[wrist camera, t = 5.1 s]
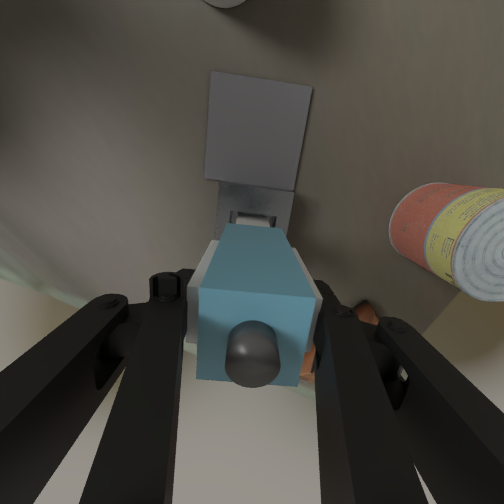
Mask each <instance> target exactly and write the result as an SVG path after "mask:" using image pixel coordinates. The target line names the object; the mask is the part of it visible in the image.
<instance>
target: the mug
mask: <svg viewBox="0 0 504 504" xmlns="http://www.w3.org/2000/svg"><path fill="white" fill-rule="evenodd" d="M204 1H206V2H207V3H209V4H211V5H213V6H216V7H219V8H231V7H235V6H237V5H240V4H241V3H243V2H244V1H246V0H204Z"/></svg>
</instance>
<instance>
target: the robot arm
mask: <svg viewBox="0 0 504 504" xmlns="http://www.w3.org/2000/svg"><path fill="white" fill-rule="evenodd" d="M218 243H219V240H211V242H210V244H209V246H208V248H207V250H206V251H205V253H204V255H203V257H202V259H201V261H200V263H199V265H198V267H197V268H196V270H193V269H181V270H179V271H178V272H176V273H175V272H162V273H158V274H155V275H153V276H151V277H150V279H149V285H150V299H149V302H145V303H138V304H128V299H127V297H126V296H124V295H120V294H105V295H102V296H99V297H97V298H95V299H93V300H91V301H90V302H89V303H88V304H86V305H85V306H84V307H82V308H81V309H80V310H79V311H77V312H76V313H75V314H74V315H72V316H71V317H70V318H68V319H67V320H66V321H65V322H63V323H62V324H61V325H60V326H58V327H57V328H56V329H55V330H53V331H52V332H51V333H49V334H48V335H47V336H46V337H44V338H43V339H42V340H41V341H39V342H38V343H37V344H35V345H34V346H33V347H32V348H31V349H29V350H28V351H27V352H25V353H24V354H23V355H22V356H20V357H19V358H18V359H16V360H15V361H14V362H13V363H11V364H10V365H9V366H7V367H6V368H5V369H4V370H2V371H1V372H0V504H33V503H34V502H35V500H36V498H37V497H38V496H39V494H40V493H41V491H42V490H43V488H44V487H45V485H46V483H47V482H48V481H49V479H50V478H51V476H52V475H53V473H54V472H55V470H56V469H57V468H58V466H59V465H60V463H61V462H62V460H63V459H64V457H65V455H66V454H67V453H68V451H69V450H70V448H71V447H72V445H73V444H74V442H75V441H76V439H77V438H78V436H79V435H80V434H81V432H82V431H83V429H84V427H85V426H86V425H87V423H88V422H89V420H90V419H91V417H92V416H93V414H94V413H95V411H96V410H97V408H98V407H99V405H100V404H101V402H102V401H103V400H104V398H105V397H106V395H107V394H108V392H109V391H110V389H111V388H112V386H113V385H114V383H115V382H116V380H117V379H118V377H119V376H120V374H121V373H122V371H123V370H124V368H125V367H126V368H125V371H124V374H123V377H122V380H121V383H120V386H119V389H118V392H117V395H116V397H115V400H114V403H113V406H112V409H111V412H110V415H109V418H108V421H107V423H106V427H105V429H104V432H103V435H102V438H101V441H100V444H99V447H98V450H97V453H96V455H95V458H94V461H93V464H92V467H91V470H90V473H89V476H88V478H87V481H86V484H85V487H84V490H83V493H82V496H81V499H80V502H79V504H172V496H173V483H174V469H175V455H176V442H177V428H178V415H179V401H180V388H181V374H182V360H183V341H184V337H185V335H186V342H188V343H198V316H199V288H200V285H201V283H202V281H203V278H204V276H205V274H206V271H207V269H208V266H209V264H210V262H211V259H212V257H213V255H214V252H215V250H216V248H217V245H218ZM292 250H293V252H294V254H295V256H296V258H297V260H298V262H299V264H300V266H301V268H302V270H303V272H304V274H305V276H306V278H307V280H308V282H309V284H310V286H311V288H312V290H313V292H314V294H315V296H316V302H315V307H314V312H313V316H312V321H311V326H310V330H309V335H308V340H307V344H306V349H305V352H311V349H312V345H313V342H314V345H315V348H316V351H315V355H314V360H313V364H312V368H311V373H313V372H314V375H315V394H316V412H317V431H318V448H319V449H318V451H319V470H320V487H321V504H428V501H427V498H426V496H425V493H424V490H423V488H422V485H421V482H420V480H419V477H418V475H417V472H416V469H415V467H414V465H415V466H416V468H417V470H418V472H419V474H420V475H421V477H422V479H423V481H424V482H425V484H426V486H427V487H428V489H429V491H430V493H431V494H432V496H433V498H434V500H435V501H436V503H437V504H504V413H503V412H502V411H501V410H500V409H499V408H497V407H496V406H495V405H494V404H493V403H492V402H491V401H490V400H489V399H488V398H487V397H486V396H485V395H484V394H483V393H482V392H481V391H479V390H478V389H477V388H476V387H475V386H474V385H473V384H472V383H471V382H470V381H469V380H468V379H467V378H466V377H465V376H464V375H462V374H461V373H460V372H459V371H458V370H457V369H456V368H455V367H454V366H453V365H452V364H451V363H450V362H449V361H448V360H447V359H446V358H444V356H443V355H442V354H440V353H439V352H438V351H437V350H436V349H435V348H434V347H433V346H432V345H431V344H430V343H429V342H428V341H427V340H425V339H424V338H423V337H422V336H421V335H420V334H419V333H418V332H417V331H416V330H415V329H414V328H413V327H412V326H410V325H409V324H408V323H406V322H404V321H402V320H401V319H397V318H394V317H381V318H380V319H379V321H378V324H377V325H374V324H371V323H367V322H363V321H360V320H359V317H358V315H357V314H356V312H355V311H353V310H352V309H351V308H349V307H346V306H344V305H341V304H340V302H339V301H338V299H337V298H336V296H335V295H334V293H333V291H332V290H331V288H330V287H329V285H327V284H326V283H325V282H323V281H320V280H313V279H312V277H311V276H310V274H309V272H308V270H307V268H306V266H305V265H304V263H303V261H302V259H301V257H300V255H299V253H298V252H297V250H296V248H292ZM403 368H404V369H405V371H406V373H407V375H408V377H407V380H406V381H405V380H404V379H403V377H402V376H401V372H402V370H403ZM413 463H414V464H413Z"/></svg>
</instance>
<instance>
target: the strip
mask: <svg viewBox="0 0 504 504" xmlns="http://www.w3.org/2000/svg"><path fill="white" fill-rule="evenodd" d="M293 198H294V192H292V191H291V190H286V189H279V188H272V187H264V186H257V185H250V184H242V183H235V182H228V181H222V182H220V183H219V195H218V207H217V218H216V230H215V240H219V241H220V238H221V236H222V233H223V231H224V229H225V226H226V224H227V223H232V224H236V220H237V216H238V214H246V215H253V216H261V217H267V219H268V222H269V225H270V227H273V228H282V230H283V232H284V234H285V236H287V231H288V225H289V220H290V214H291V209H292V204H293Z"/></svg>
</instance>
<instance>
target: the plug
mask: <svg viewBox="0 0 504 504" xmlns="http://www.w3.org/2000/svg"><path fill="white" fill-rule="evenodd" d="M315 302H316V296H315V294H314V292H313V290H312V288H311V286H310V284H309V282H308V280H307V278H306V276H305V274H304V272H303V270H302V268H301V266H300V264H299V262H298V260H297V258H296V256H295V254H294V252H293V250H292V248H291V246H290V244H289V242H288V240H287V238H286V236H285V234H284V232H283V230H282V228H273V227H263V226H253V225H242V224H232V223H227V224H226V226H225V229H224V231H223V233H222V236H221V238H220V241H219V243H218V245H217V248H216V250H215V252H214V255H213V257H212V259H211V262H210V264H209V266H208V269H207V271H206V274H205V276H204V278H203V281H202V283H201V285H200V288H199V316H198V344H197V371H196V373H197V374H196V379H202V380H216V381H229V382H235V383H236V384H238V385H241V386H243V387H249V388H256V387H262V386H265V385H267V384H268V385H282V386H295V387H297V386H298V382H299V377H300V372H301V368H302V363H303V358H304V354H305V349H306V344H307V340H308V335H309V330H310V326H311V321H312V316H313V312H314V307H315Z"/></svg>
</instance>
